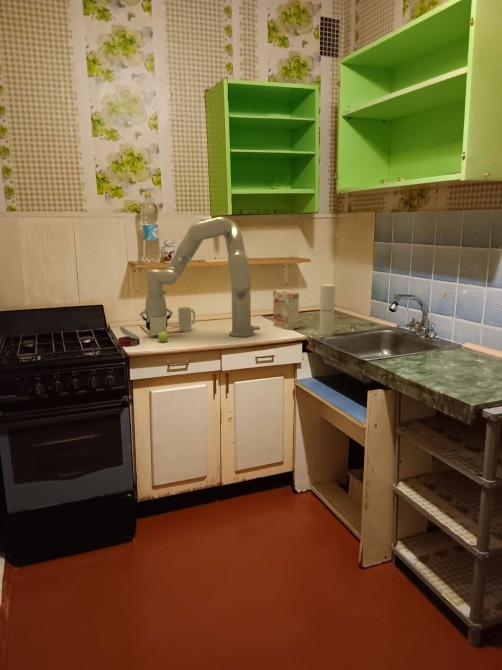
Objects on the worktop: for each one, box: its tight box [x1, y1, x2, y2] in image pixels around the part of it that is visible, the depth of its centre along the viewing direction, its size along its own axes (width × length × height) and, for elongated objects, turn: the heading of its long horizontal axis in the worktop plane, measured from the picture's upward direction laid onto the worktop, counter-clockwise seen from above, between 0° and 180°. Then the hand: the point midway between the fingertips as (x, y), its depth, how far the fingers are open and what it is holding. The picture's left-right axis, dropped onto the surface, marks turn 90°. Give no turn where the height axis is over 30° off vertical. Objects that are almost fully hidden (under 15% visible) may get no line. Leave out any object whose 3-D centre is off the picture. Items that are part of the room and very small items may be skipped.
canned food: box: [117, 326, 141, 348], centre depth 242 cm, size 11×10×10 cm
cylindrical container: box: [318, 283, 336, 336], centre depth 258 cm, size 7×7×25 cm
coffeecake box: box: [272, 289, 300, 331], centre depth 276 cm, size 15×7×20 cm, turn 30°
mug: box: [177, 306, 196, 333], centre depth 271 cm, size 10×7×12 cm, turn 130°
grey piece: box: [147, 316, 167, 336], centre depth 257 cm, size 8×8×9 cm
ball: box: [157, 331, 170, 343], centre depth 246 cm, size 5×5×5 cm
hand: (156, 328), depth 257 cm, fingers closed on grey piece, 7 cm apart
